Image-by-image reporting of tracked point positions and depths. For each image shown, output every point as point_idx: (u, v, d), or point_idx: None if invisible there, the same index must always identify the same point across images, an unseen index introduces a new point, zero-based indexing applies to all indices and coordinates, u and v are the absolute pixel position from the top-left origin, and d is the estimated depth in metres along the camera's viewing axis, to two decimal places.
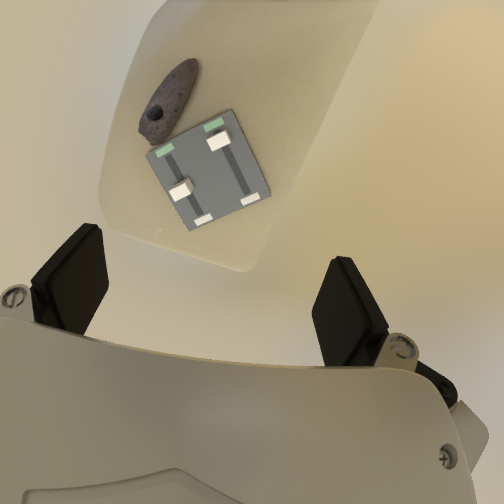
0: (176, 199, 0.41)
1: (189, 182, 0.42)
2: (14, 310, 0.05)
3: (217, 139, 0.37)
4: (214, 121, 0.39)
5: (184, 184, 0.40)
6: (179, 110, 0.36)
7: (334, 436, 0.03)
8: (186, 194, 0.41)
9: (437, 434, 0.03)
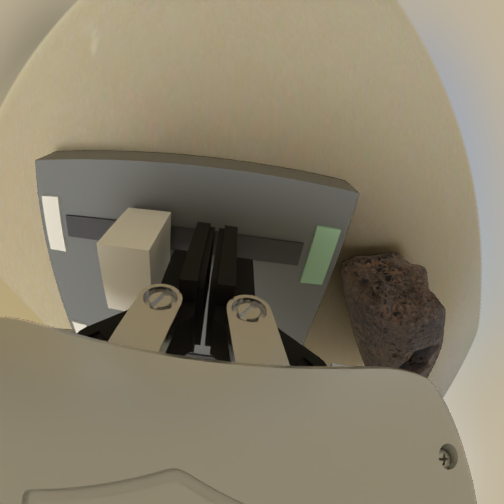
0: (103, 254, 0.08)
1: None
2: (151, 312, 0.06)
3: None
4: None
5: None
6: (365, 362, 0.15)
7: (334, 436, 0.03)
8: (110, 296, 0.09)
9: (437, 434, 0.03)
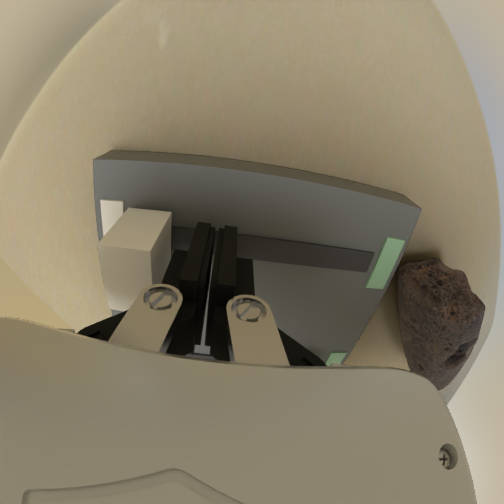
0: (104, 255, 0.08)
1: None
2: (151, 312, 0.06)
3: None
4: None
5: None
6: (411, 358, 0.15)
7: (334, 436, 0.03)
8: (111, 297, 0.09)
9: (437, 434, 0.03)
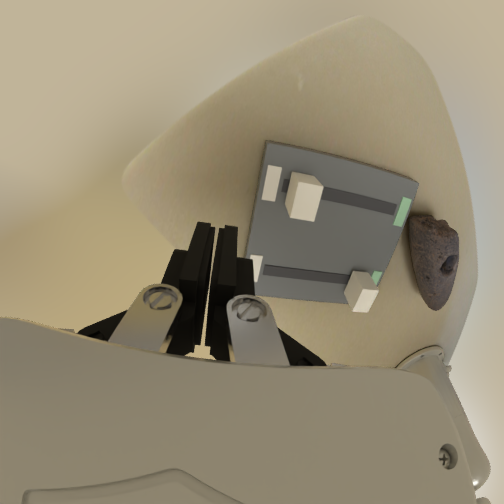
0: (300, 187, 0.20)
1: None
2: (151, 312, 0.06)
3: (368, 301, 0.26)
4: None
5: (312, 219, 0.21)
6: (421, 274, 0.26)
7: (334, 436, 0.03)
8: (294, 210, 0.21)
9: (437, 434, 0.03)
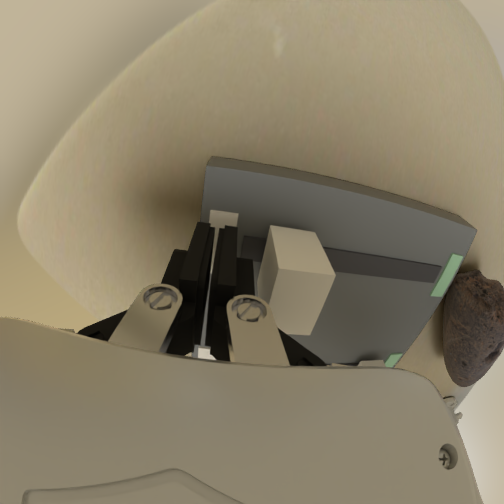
0: (282, 280, 0.09)
1: None
2: (151, 312, 0.06)
3: None
4: None
5: (306, 331, 0.10)
6: (455, 356, 0.15)
7: (334, 436, 0.03)
8: None
9: (437, 434, 0.03)
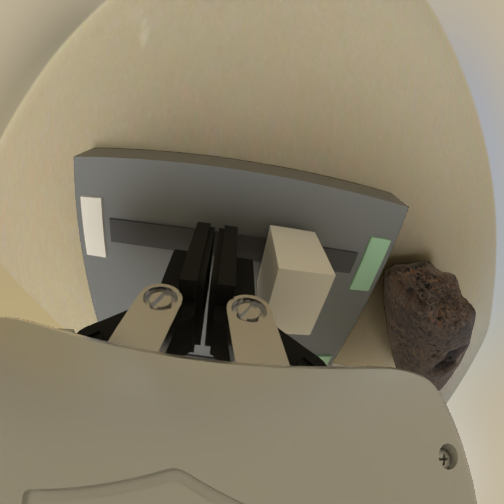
0: (282, 279, 0.09)
1: None
2: (151, 311, 0.06)
3: None
4: None
5: (306, 331, 0.10)
6: (398, 363, 0.15)
7: (334, 436, 0.03)
8: None
9: (437, 434, 0.03)
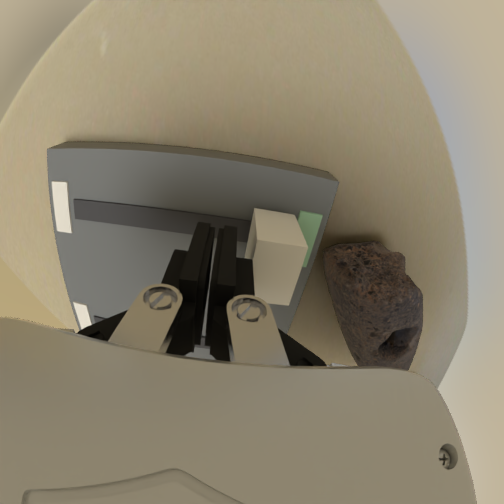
0: (260, 250, 0.10)
1: None
2: (151, 312, 0.06)
3: None
4: None
5: (285, 301, 0.12)
6: (348, 346, 0.16)
7: (334, 436, 0.03)
8: None
9: (437, 434, 0.03)
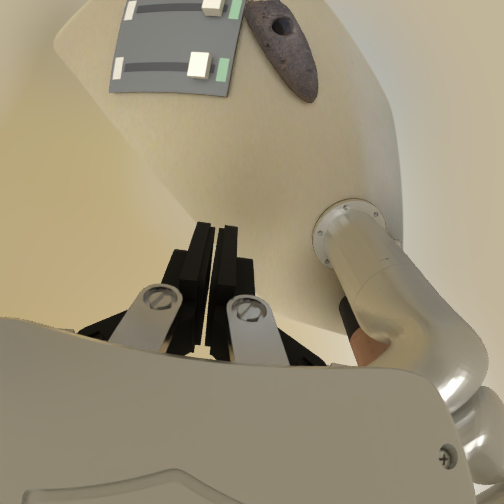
0: None
1: (215, 14, 0.22)
2: (151, 312, 0.06)
3: (200, 64, 0.24)
4: (225, 72, 0.28)
5: (217, 7, 0.20)
6: (265, 49, 0.24)
7: (334, 436, 0.03)
8: (204, 3, 0.20)
9: (437, 434, 0.03)
